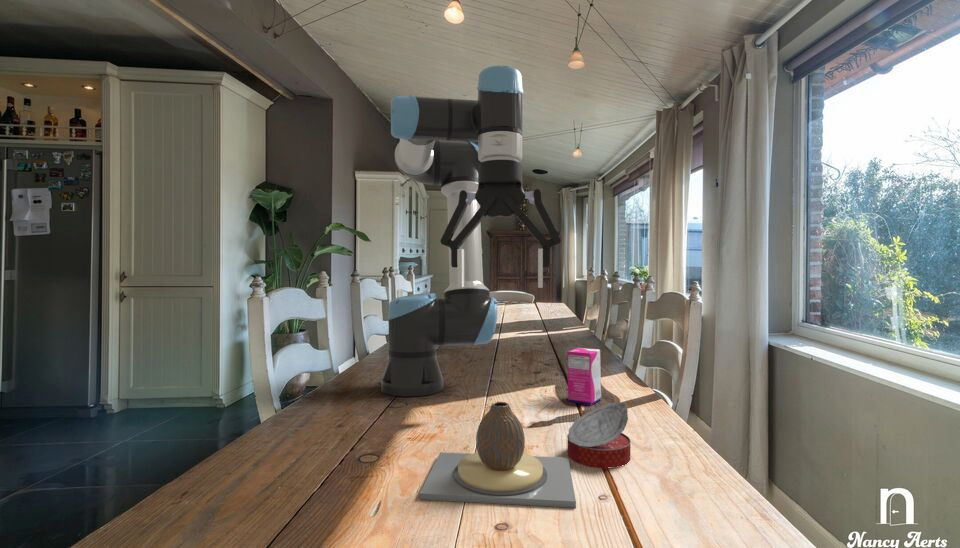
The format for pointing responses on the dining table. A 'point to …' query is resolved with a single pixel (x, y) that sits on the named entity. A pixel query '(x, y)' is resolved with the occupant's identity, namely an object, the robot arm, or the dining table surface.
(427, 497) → the board
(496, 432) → the vase
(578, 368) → the supplement box
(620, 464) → the canned food
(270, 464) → the dining table surface
